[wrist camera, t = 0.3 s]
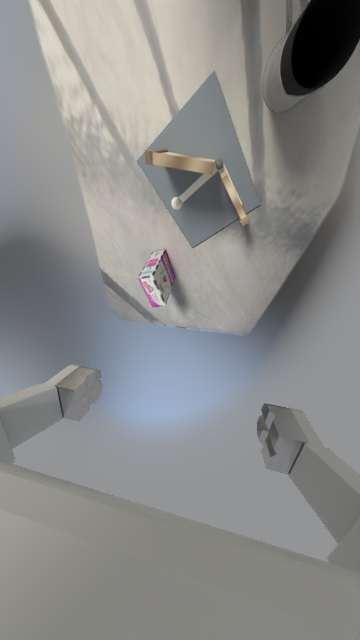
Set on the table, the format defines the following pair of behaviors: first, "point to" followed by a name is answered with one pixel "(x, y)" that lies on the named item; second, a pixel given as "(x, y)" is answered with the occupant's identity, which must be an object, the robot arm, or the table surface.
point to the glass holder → (310, 50)
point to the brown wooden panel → (179, 161)
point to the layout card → (199, 188)
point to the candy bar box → (157, 278)
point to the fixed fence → (233, 195)
